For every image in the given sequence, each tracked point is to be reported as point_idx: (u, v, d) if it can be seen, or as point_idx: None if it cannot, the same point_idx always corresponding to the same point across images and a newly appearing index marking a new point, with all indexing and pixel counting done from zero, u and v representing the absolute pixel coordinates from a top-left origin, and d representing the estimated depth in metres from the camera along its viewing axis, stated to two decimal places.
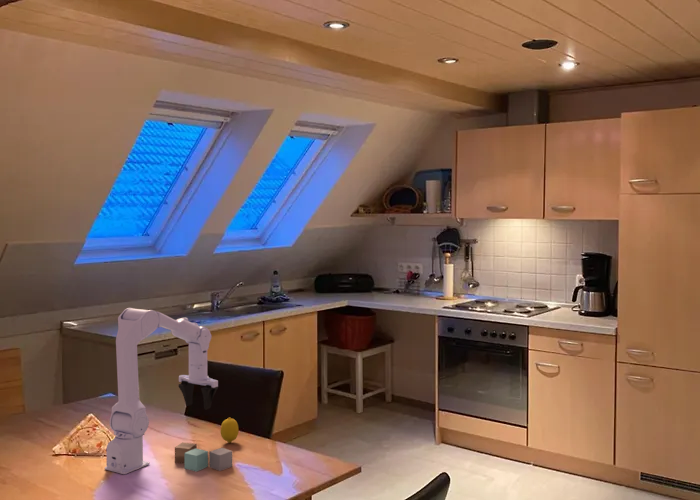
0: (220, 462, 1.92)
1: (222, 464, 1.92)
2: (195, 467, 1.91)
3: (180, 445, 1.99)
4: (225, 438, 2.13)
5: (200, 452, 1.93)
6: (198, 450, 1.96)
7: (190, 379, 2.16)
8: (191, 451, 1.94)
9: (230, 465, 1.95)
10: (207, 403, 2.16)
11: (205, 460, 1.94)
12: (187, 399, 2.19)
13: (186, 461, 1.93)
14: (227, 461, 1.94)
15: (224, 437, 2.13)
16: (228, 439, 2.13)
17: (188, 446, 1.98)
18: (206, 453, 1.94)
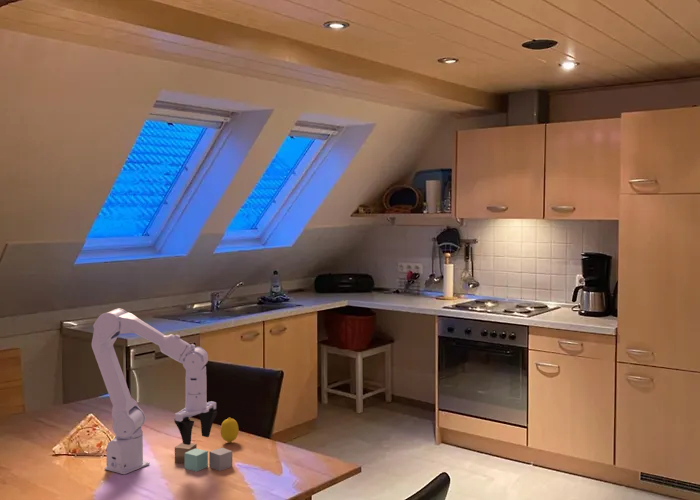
0: (220, 462, 1.92)
1: (222, 464, 1.92)
2: (195, 467, 1.91)
3: (180, 445, 1.99)
4: (225, 438, 2.13)
5: (200, 452, 1.93)
6: (198, 450, 1.96)
7: None
8: (191, 451, 1.94)
9: (230, 465, 1.95)
10: (183, 437, 1.90)
11: (205, 460, 1.94)
12: (202, 428, 1.97)
13: (186, 461, 1.93)
14: (227, 461, 1.94)
15: (224, 437, 2.13)
16: (228, 439, 2.13)
17: (188, 446, 1.98)
18: (206, 453, 1.94)
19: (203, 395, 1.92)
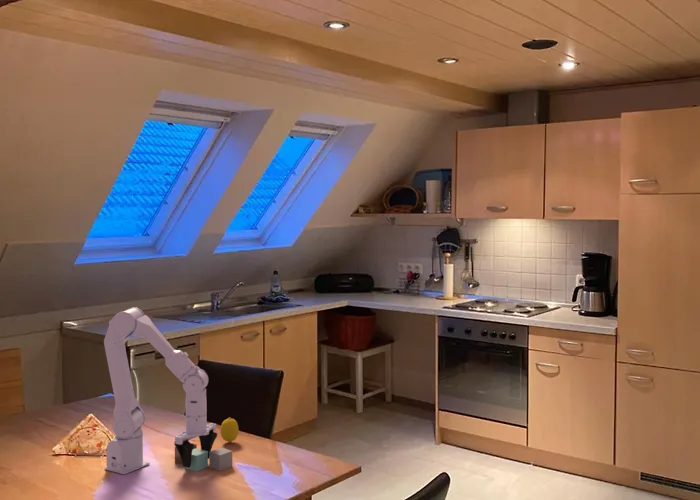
0: (220, 462, 1.92)
1: (222, 464, 1.92)
2: (195, 467, 1.91)
3: None
4: (225, 438, 2.13)
5: (200, 452, 1.93)
6: (198, 450, 1.96)
7: None
8: None
9: (230, 465, 1.95)
10: (183, 460, 1.91)
11: (205, 460, 1.94)
12: None
13: None
14: (227, 461, 1.94)
15: (224, 437, 2.13)
16: (228, 439, 2.13)
17: None
18: (206, 453, 1.94)
19: (203, 418, 1.92)
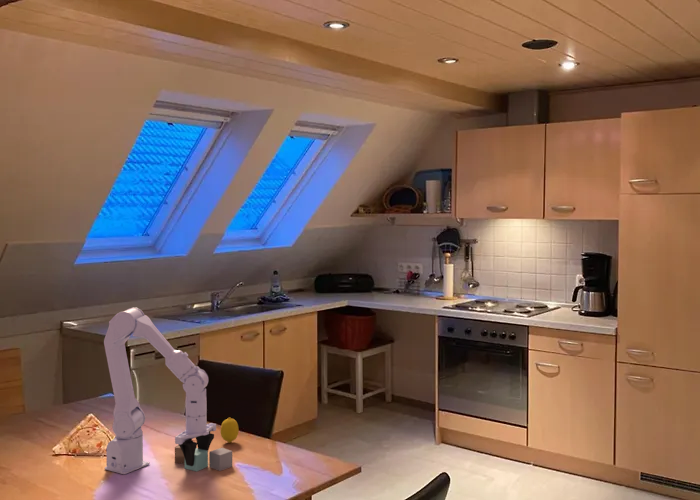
0: (220, 462, 1.92)
1: (222, 464, 1.92)
2: (195, 467, 1.91)
3: None
4: (225, 438, 2.13)
5: (200, 452, 1.93)
6: (198, 449, 1.96)
7: None
8: None
9: (230, 465, 1.95)
10: (186, 458, 1.92)
11: (205, 459, 1.94)
12: None
13: None
14: (227, 461, 1.94)
15: (224, 437, 2.13)
16: (228, 439, 2.13)
17: None
18: (206, 453, 1.94)
19: (203, 418, 1.92)
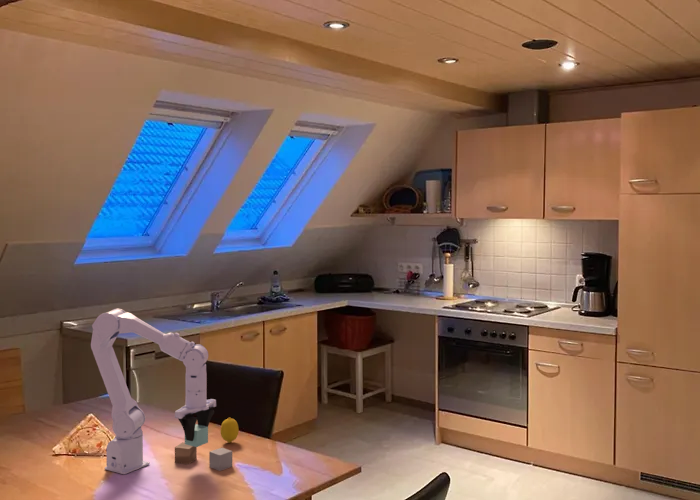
0: (220, 462, 1.92)
1: (222, 464, 1.92)
2: (195, 442, 1.91)
3: (180, 445, 1.99)
4: (225, 438, 2.13)
5: (200, 428, 1.93)
6: (198, 425, 1.95)
7: None
8: None
9: (230, 465, 1.95)
10: (186, 433, 1.91)
11: (205, 435, 1.94)
12: None
13: None
14: (227, 461, 1.94)
15: (224, 437, 2.13)
16: (228, 439, 2.13)
17: (188, 446, 1.98)
18: (206, 428, 1.94)
19: (203, 393, 1.92)
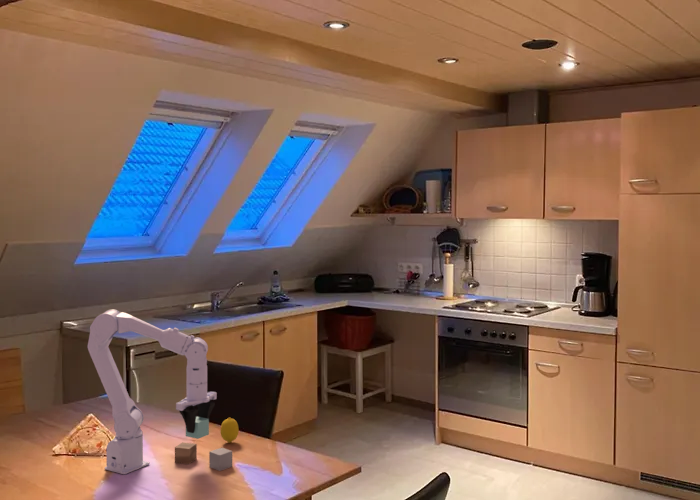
0: (220, 462, 1.92)
1: (222, 464, 1.92)
2: (196, 434, 1.93)
3: (180, 445, 1.99)
4: (225, 438, 2.13)
5: (201, 420, 1.95)
6: (199, 417, 1.98)
7: None
8: None
9: (230, 465, 1.95)
10: (187, 425, 1.94)
11: (206, 427, 1.96)
12: None
13: None
14: (227, 461, 1.94)
15: (224, 437, 2.13)
16: (228, 439, 2.13)
17: (188, 446, 1.98)
18: (207, 421, 1.96)
19: (204, 385, 1.94)
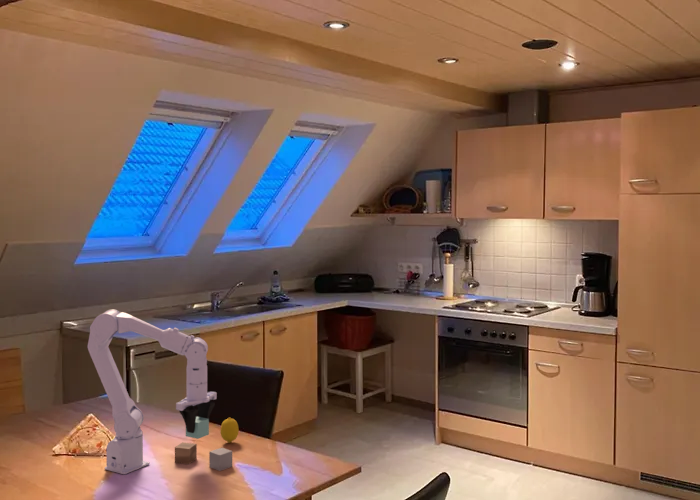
0: (220, 462, 1.92)
1: (222, 464, 1.92)
2: (196, 434, 1.93)
3: (180, 445, 1.99)
4: (225, 438, 2.13)
5: (201, 420, 1.95)
6: (199, 417, 1.98)
7: None
8: None
9: (230, 465, 1.95)
10: (187, 425, 1.94)
11: (206, 427, 1.96)
12: None
13: None
14: (227, 461, 1.94)
15: (224, 437, 2.13)
16: (228, 439, 2.13)
17: (188, 446, 1.98)
18: (207, 421, 1.96)
19: (204, 385, 1.94)
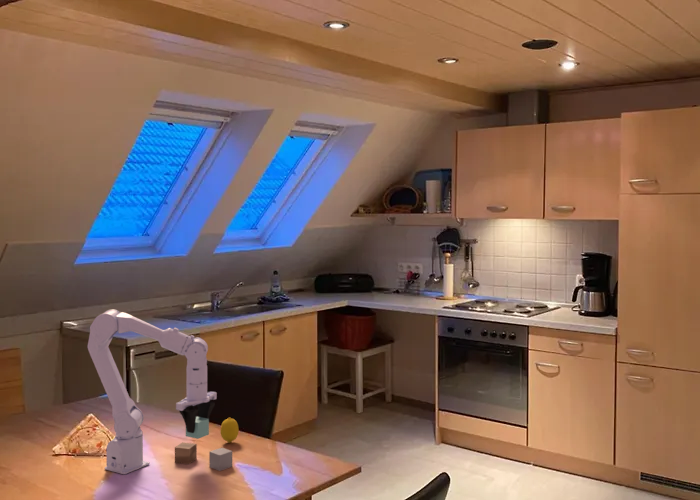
0: (220, 462, 1.92)
1: (222, 464, 1.92)
2: (196, 434, 1.93)
3: (180, 445, 1.99)
4: (225, 438, 2.13)
5: (201, 420, 1.95)
6: (199, 417, 1.98)
7: None
8: None
9: (230, 465, 1.95)
10: (187, 425, 1.94)
11: (206, 427, 1.96)
12: None
13: None
14: (227, 462, 1.94)
15: (224, 437, 2.13)
16: (228, 439, 2.13)
17: (188, 446, 1.98)
18: (207, 421, 1.96)
19: (204, 385, 1.94)
